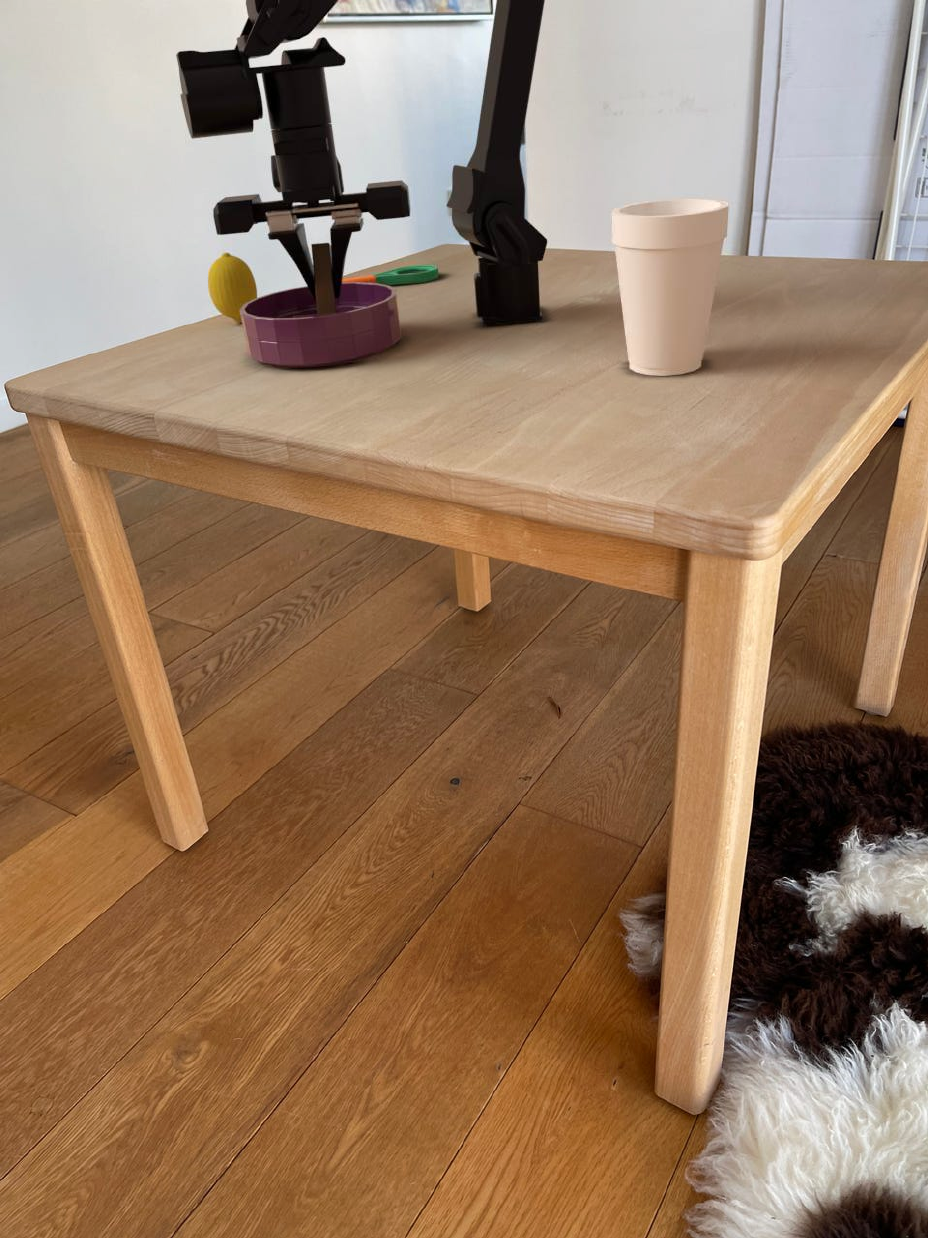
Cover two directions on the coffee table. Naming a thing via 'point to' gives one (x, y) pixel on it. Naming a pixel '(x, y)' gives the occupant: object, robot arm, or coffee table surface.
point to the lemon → (231, 285)
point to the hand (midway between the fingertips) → (327, 298)
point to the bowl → (321, 326)
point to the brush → (323, 280)
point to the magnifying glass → (400, 275)
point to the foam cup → (668, 279)
